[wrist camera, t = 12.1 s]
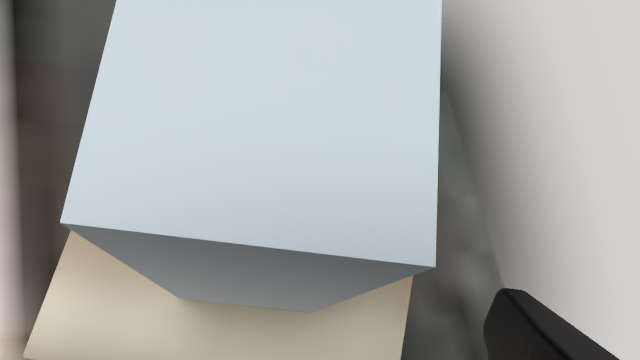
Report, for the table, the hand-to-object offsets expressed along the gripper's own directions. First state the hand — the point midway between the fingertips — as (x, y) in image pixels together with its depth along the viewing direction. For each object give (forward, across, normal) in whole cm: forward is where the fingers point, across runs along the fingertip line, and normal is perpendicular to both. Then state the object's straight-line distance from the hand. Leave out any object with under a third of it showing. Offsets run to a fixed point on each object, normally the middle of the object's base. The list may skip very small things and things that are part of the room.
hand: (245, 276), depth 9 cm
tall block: (+8, 0, +5) cm, 10 cm away
